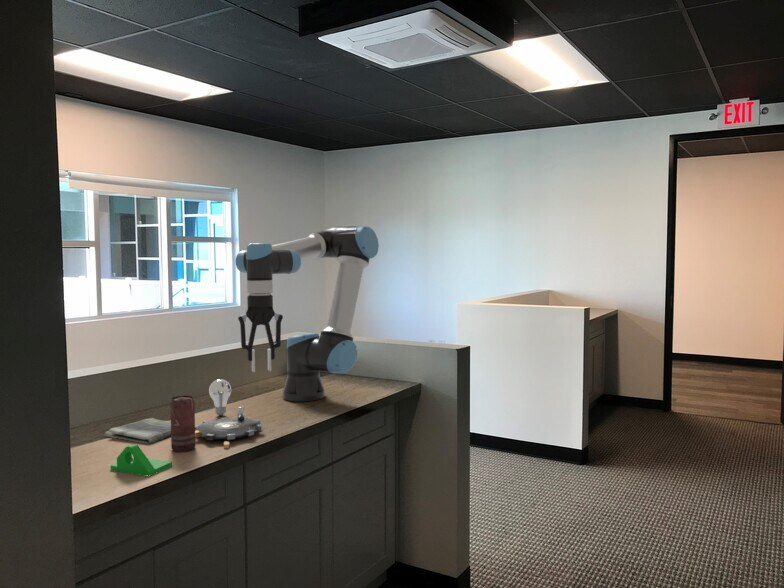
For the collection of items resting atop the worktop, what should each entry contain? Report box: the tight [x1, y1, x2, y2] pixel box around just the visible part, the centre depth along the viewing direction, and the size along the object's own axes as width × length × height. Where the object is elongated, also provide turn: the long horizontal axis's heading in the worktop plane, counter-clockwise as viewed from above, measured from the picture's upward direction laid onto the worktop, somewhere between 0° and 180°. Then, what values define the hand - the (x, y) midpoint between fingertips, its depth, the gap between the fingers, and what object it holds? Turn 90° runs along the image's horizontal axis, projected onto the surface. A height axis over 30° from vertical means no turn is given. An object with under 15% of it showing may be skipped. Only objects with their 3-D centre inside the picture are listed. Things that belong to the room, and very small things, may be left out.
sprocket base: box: [212, 436, 246, 442], centre depth 180 cm, size 12×12×1 cm
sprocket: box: [195, 406, 263, 441], centre depth 179 cm, size 19×20×5 cm
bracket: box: [110, 443, 173, 477], centre depth 152 cm, size 12×8×7 cm, turn 67°
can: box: [169, 395, 196, 453], centre depth 166 cm, size 6×6×14 cm
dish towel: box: [104, 417, 171, 445], centre depth 182 cm, size 19×18×3 cm
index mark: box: [223, 440, 230, 449], centre depth 168 cm, size 3×1×1 cm, turn 13°
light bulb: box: [208, 378, 232, 417], centre depth 200 cm, size 7×7×12 cm
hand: (261, 370), depth 189 cm, fingers open, 4 cm apart
